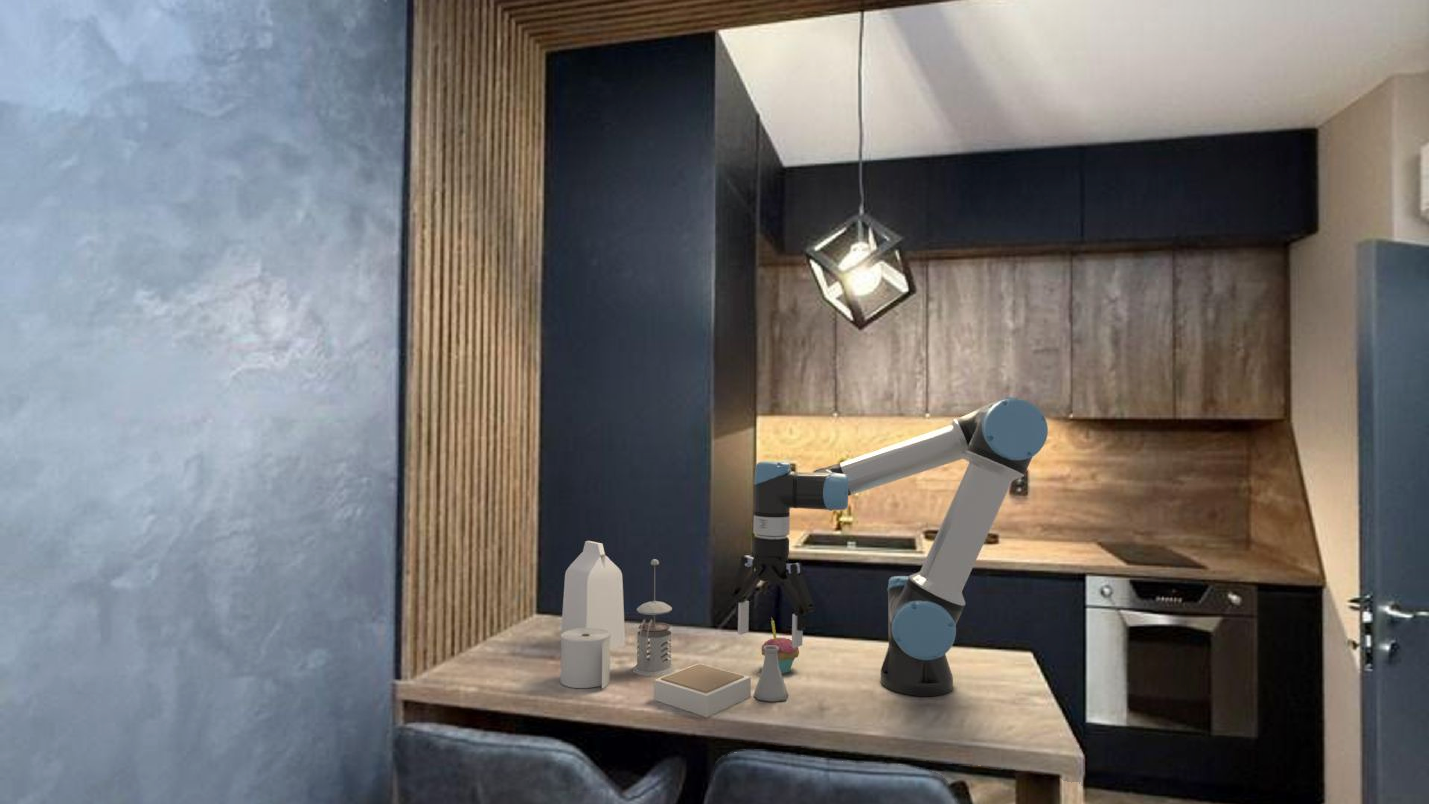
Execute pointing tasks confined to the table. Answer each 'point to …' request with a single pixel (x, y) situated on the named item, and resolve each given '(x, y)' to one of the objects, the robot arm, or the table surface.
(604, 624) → the milk
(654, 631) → the french press
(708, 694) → the pedestal
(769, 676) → the flask
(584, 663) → the toilet tissue
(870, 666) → the table surface
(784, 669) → the cupcake
